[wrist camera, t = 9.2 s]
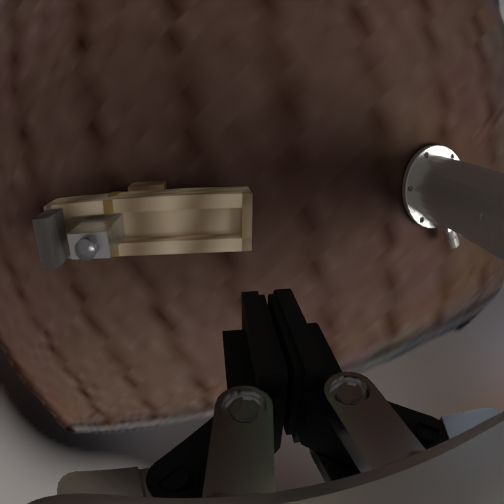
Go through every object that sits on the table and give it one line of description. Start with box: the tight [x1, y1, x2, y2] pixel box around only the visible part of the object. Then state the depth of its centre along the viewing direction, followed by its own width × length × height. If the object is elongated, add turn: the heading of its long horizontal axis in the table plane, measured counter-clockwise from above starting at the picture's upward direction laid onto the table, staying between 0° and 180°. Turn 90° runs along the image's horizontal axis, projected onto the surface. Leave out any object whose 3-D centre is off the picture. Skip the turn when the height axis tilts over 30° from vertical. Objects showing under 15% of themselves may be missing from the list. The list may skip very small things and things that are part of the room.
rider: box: [67, 213, 125, 261], centre depth 27 cm, size 4×2×7 cm, turn 89°
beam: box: [32, 180, 253, 269], centre depth 31 cm, size 22×7×10 cm, turn 89°
